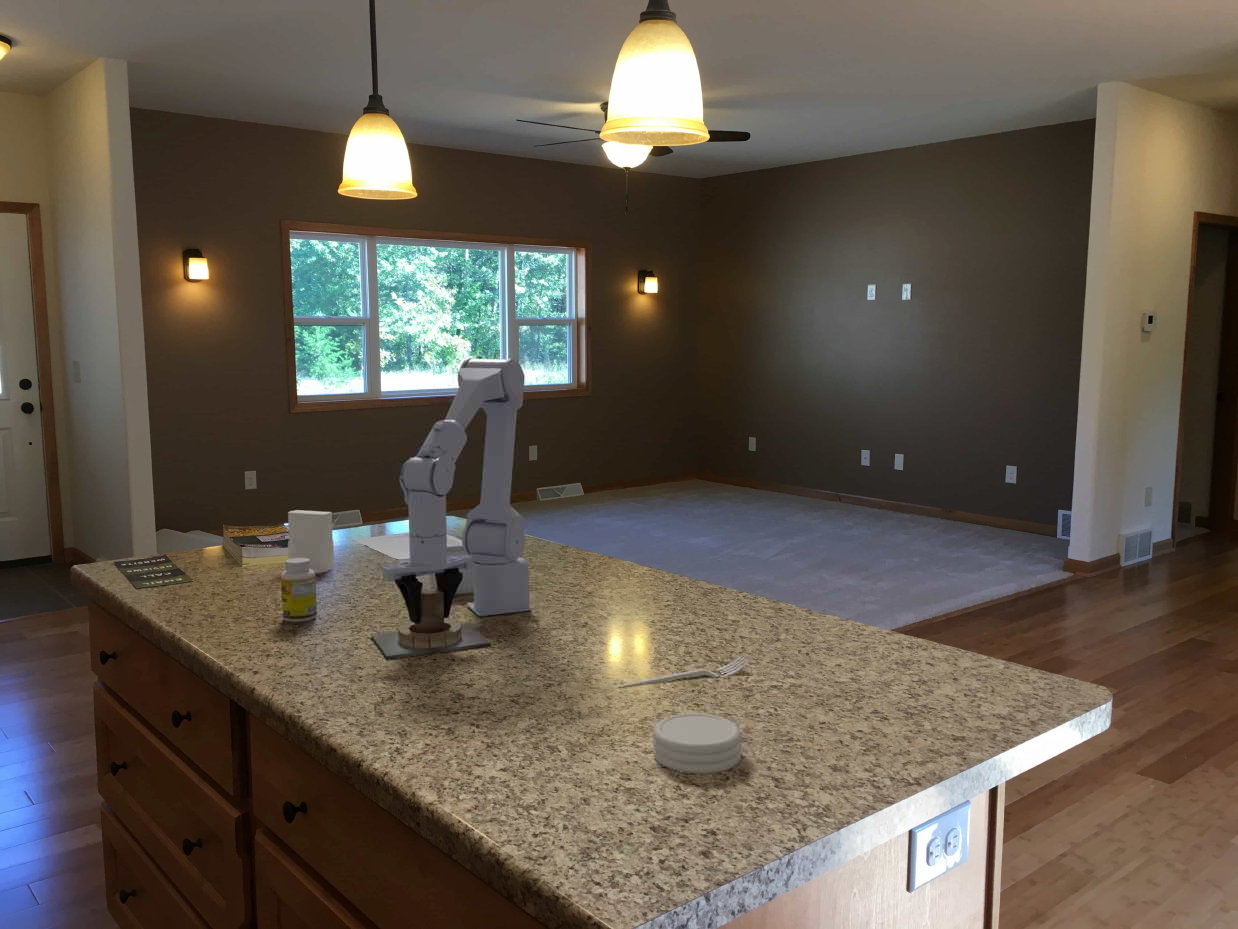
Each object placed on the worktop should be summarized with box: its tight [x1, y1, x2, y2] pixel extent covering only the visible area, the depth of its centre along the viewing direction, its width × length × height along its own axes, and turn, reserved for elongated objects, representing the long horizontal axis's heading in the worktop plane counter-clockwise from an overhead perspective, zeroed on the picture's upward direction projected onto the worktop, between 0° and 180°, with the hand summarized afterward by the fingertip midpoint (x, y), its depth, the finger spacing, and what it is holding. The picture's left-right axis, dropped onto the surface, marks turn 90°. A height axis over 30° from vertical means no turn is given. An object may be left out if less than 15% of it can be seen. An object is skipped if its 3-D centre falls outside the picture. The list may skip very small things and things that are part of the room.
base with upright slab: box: [287, 509, 335, 574], centre depth 202 cm, size 9×9×12 cm
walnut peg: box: [415, 588, 445, 634], centre depth 153 cm, size 4×4×6 cm
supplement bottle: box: [280, 558, 318, 623], centre depth 165 cm, size 6×6×10 cm
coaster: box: [652, 712, 743, 775], centre depth 111 cm, size 10×10×4 cm
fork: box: [616, 656, 749, 687], centre depth 137 cm, size 3×20×2 cm, turn 112°
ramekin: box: [428, 545, 474, 595], centre depth 188 cm, size 13×13×7 cm
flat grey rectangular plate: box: [370, 618, 492, 660], centre depth 153 cm, size 16×12×2 cm
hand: (429, 619), depth 153 cm, fingers closed on walnut peg, 4 cm apart
